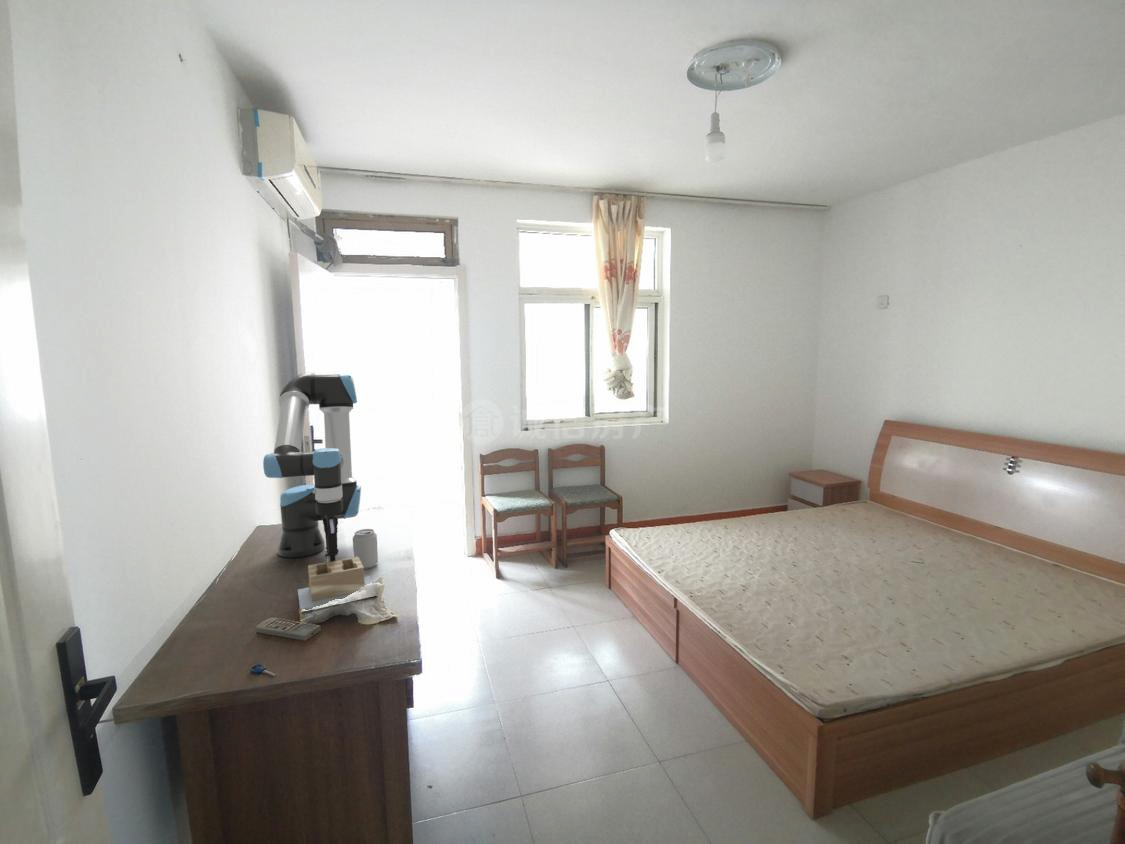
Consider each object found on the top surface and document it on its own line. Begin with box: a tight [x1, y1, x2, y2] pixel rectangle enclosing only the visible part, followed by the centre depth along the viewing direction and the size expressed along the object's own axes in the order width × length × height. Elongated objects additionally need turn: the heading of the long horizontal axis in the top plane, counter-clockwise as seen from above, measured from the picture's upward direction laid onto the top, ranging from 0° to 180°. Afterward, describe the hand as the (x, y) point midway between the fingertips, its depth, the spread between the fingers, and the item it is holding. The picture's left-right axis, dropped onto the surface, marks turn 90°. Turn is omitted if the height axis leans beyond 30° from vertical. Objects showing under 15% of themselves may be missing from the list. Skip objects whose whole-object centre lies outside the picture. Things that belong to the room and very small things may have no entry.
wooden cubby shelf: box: [307, 556, 365, 602], centre depth 153 cm, size 10×14×7 cm
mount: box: [297, 575, 373, 613], centre depth 152 cm, size 14×20×4 cm
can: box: [352, 528, 379, 570], centre depth 173 cm, size 8×8×12 cm
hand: (333, 574), depth 159 cm, fingers closed
